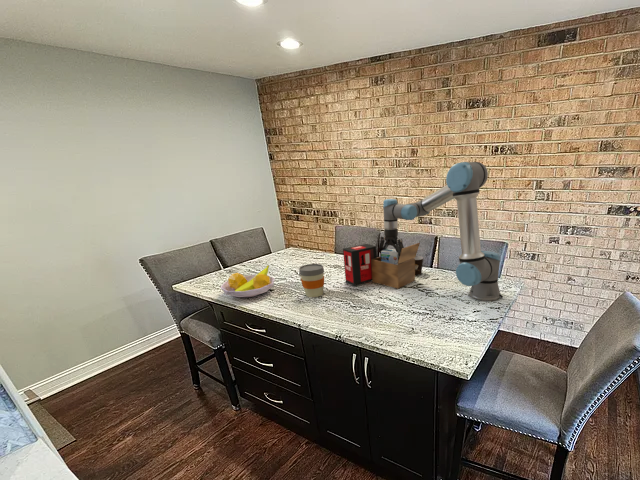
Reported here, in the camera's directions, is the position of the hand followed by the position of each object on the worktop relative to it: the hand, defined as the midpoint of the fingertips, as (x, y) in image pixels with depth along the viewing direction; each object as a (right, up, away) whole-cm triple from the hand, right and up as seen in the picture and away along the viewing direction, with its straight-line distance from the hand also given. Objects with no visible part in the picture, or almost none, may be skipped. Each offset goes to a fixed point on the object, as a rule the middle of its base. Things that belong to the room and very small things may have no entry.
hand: (391, 266), depth 193 cm
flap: (+9, +6, -11) cm, 15 cm away
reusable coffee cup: (-41, -16, -14) cm, 46 cm away
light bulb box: (0, -1, +1) cm, 1 cm away
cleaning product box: (-18, -8, +5) cm, 20 cm away
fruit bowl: (-76, -15, -9) cm, 78 cm away
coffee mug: (+13, -3, +16) cm, 21 cm away
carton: (+1, -8, +3) cm, 9 cm away
